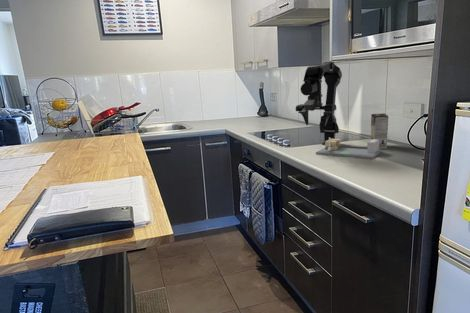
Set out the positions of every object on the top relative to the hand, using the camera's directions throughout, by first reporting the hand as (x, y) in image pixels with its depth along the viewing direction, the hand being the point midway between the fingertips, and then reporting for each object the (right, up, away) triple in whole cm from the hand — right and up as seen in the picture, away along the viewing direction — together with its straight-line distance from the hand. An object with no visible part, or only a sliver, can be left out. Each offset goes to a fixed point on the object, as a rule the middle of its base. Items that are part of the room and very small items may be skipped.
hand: (315, 125), depth 162 cm
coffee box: (+32, -10, +4) cm, 34 cm away
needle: (+5, -12, -5) cm, 14 cm away
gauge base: (+14, -13, -5) cm, 20 cm away
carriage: (+7, -12, 0) cm, 14 cm away
